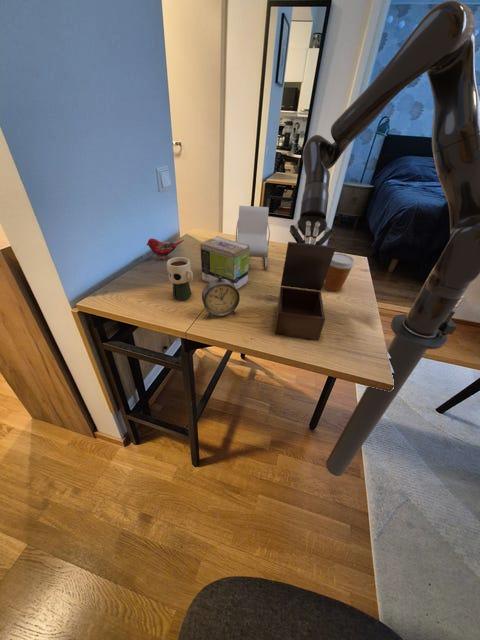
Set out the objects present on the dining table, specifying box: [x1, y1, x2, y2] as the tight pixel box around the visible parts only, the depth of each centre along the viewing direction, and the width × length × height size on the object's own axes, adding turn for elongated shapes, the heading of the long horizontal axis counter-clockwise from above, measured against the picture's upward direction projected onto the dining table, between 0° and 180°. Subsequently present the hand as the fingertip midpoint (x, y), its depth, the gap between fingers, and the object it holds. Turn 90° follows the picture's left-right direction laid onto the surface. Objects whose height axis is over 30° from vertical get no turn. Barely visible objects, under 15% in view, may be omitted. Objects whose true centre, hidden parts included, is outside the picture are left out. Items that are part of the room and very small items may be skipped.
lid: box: [280, 241, 337, 292], centre depth 75 cm, size 16×13×1 cm
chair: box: [235, 205, 271, 270], centre depth 110 cm, size 13×25×20 cm, turn 178°
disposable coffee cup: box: [323, 252, 355, 293], centre depth 95 cm, size 10×10×12 cm
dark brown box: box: [274, 286, 326, 341], centre depth 78 cm, size 15×13×8 cm
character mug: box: [166, 256, 194, 301], centre depth 85 cm, size 11×7×13 cm, turn 57°
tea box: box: [199, 235, 250, 290], centre depth 95 cm, size 15×10×15 cm
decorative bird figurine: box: [146, 237, 185, 261], centre depth 110 cm, size 3×18×10 cm, turn 132°
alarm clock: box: [201, 267, 241, 319], centre depth 77 cm, size 11×5×16 cm, turn 106°
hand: (307, 259), depth 74 cm, fingers closed
